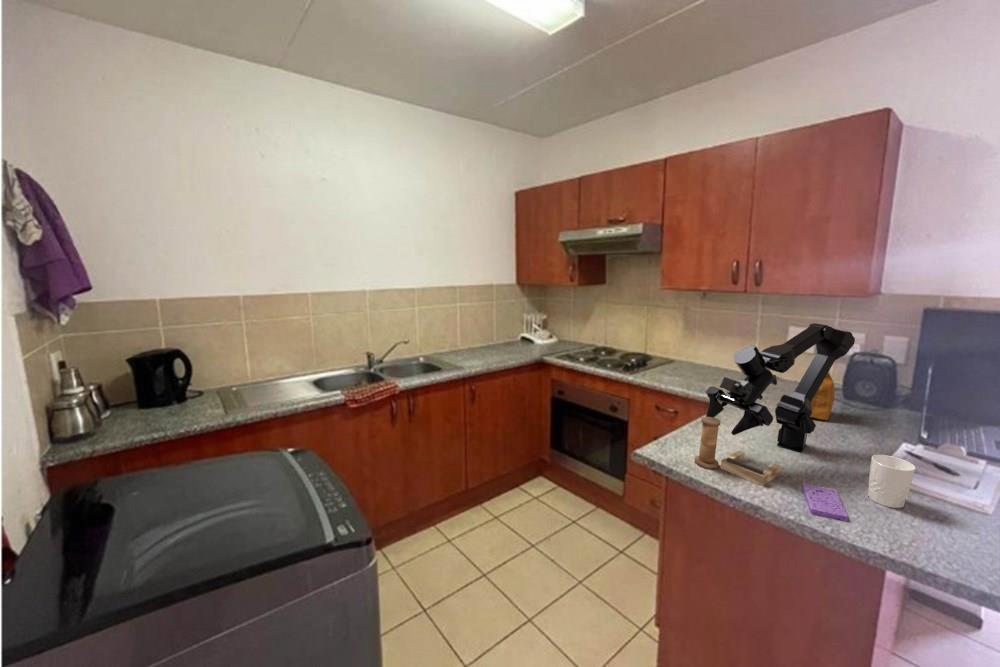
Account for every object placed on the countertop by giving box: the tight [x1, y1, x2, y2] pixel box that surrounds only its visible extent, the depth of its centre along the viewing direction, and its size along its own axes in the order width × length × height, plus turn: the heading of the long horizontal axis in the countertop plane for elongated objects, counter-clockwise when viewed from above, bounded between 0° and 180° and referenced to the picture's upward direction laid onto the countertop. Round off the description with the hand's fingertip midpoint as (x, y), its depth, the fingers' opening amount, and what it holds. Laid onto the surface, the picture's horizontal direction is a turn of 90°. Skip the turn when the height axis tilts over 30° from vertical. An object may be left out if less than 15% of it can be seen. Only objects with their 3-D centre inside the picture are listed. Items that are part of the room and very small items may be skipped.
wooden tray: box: [720, 450, 782, 487], centre depth 121 cm, size 10×11×3 cm
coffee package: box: [810, 371, 835, 421], centre depth 160 cm, size 10×12×22 cm
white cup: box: [867, 454, 917, 509], centre depth 107 cm, size 8×8×10 cm
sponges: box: [801, 483, 848, 522], centre depth 106 cm, size 7×13×2 cm, turn 154°
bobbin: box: [694, 416, 722, 470], centre depth 124 cm, size 6×6×13 cm
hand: (718, 427), depth 124 cm, fingers open, 9 cm apart
